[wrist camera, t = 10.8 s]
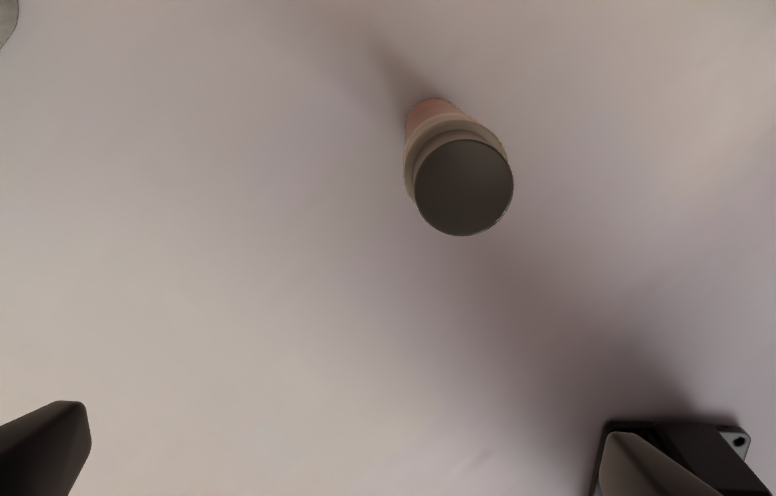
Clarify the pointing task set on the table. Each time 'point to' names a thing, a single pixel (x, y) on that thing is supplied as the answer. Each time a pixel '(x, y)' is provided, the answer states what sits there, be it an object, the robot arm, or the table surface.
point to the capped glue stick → (455, 169)
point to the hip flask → (7, 18)
